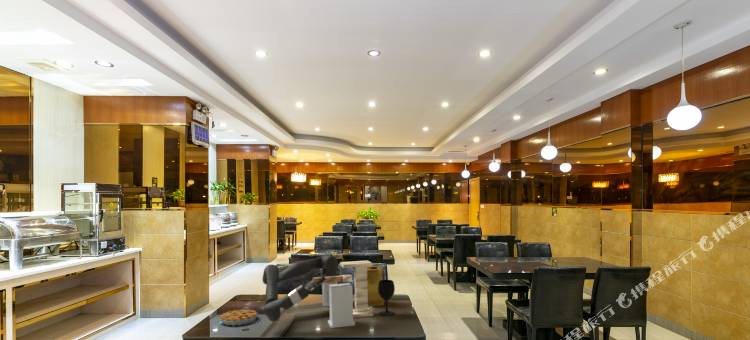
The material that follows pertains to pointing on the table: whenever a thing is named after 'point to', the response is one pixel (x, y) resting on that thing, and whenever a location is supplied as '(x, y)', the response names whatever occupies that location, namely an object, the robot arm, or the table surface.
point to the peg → (335, 279)
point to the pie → (238, 317)
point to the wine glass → (386, 294)
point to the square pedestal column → (360, 287)
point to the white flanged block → (341, 305)
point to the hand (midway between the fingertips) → (324, 277)
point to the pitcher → (374, 285)
